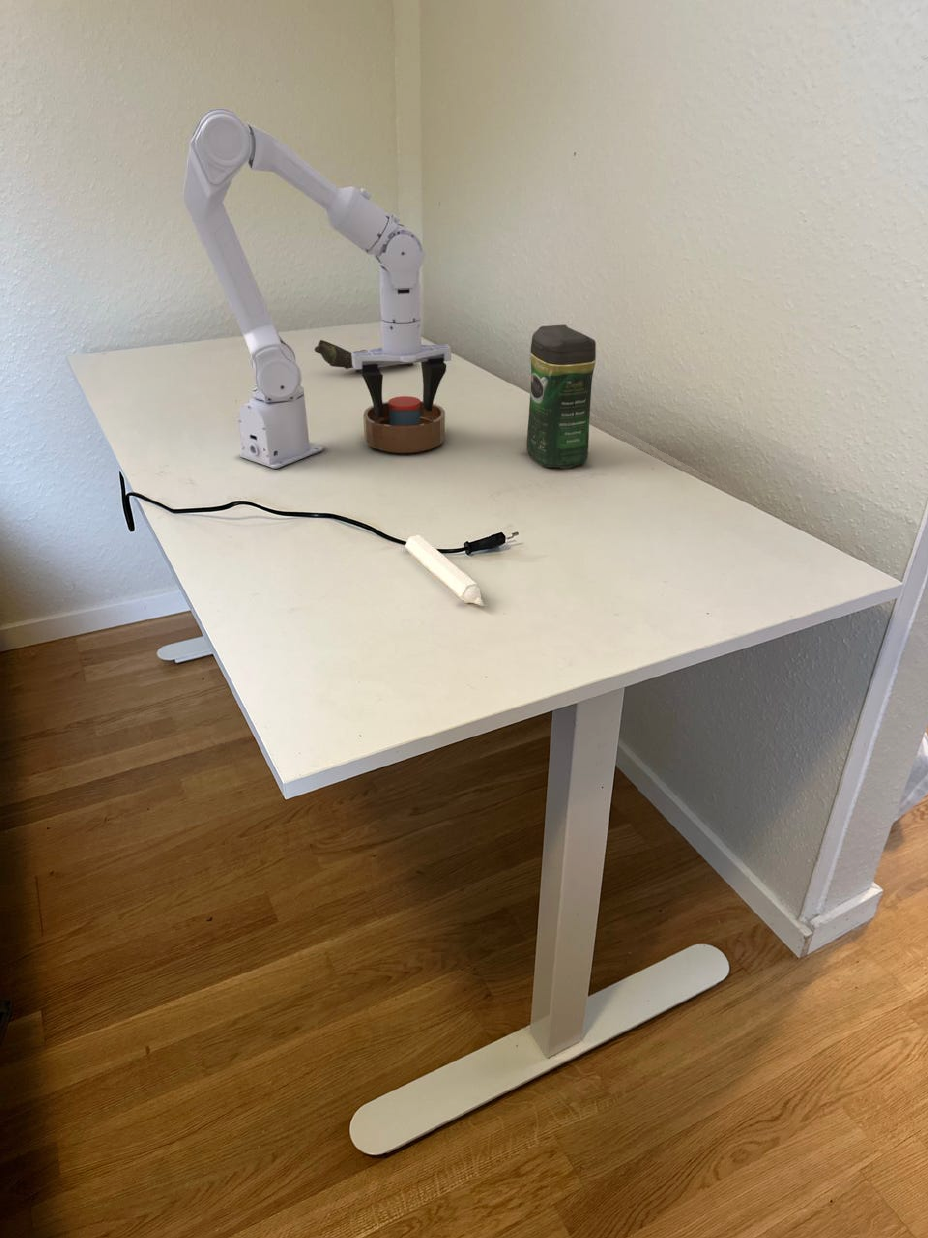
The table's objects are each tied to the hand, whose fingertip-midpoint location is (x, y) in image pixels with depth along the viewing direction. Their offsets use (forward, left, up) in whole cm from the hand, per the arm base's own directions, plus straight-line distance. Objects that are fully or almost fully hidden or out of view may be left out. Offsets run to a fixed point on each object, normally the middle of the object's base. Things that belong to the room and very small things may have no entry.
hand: (403, 411), depth 129 cm
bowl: (0, 0, -5) cm, 5 cm away
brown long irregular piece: (+23, +30, -5) cm, 38 cm away
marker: (-29, -32, -5) cm, 44 cm away
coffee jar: (+9, -22, -5) cm, 24 cm away
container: (0, 0, -4) cm, 4 cm away
